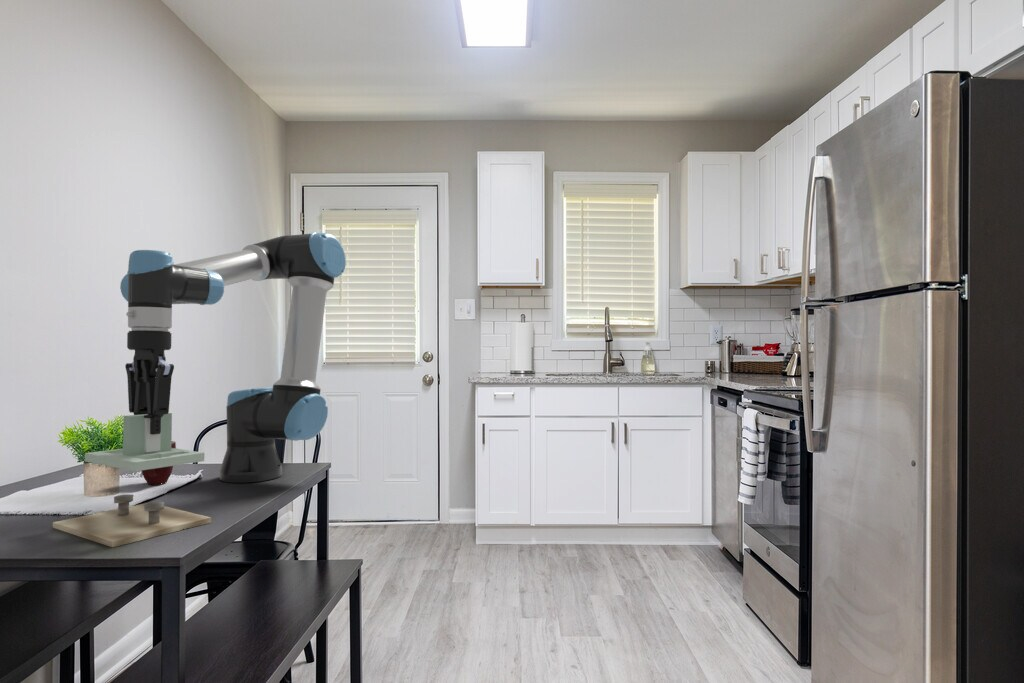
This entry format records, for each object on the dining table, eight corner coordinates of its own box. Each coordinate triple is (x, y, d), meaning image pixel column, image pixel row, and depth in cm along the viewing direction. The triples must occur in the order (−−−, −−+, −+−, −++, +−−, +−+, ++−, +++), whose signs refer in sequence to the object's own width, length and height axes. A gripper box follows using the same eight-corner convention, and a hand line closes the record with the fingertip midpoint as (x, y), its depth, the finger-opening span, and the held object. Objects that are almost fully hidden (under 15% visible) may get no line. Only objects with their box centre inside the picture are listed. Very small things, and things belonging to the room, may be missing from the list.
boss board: (149, 507, 135) (149, 485, 135) (211, 522, 124) (211, 498, 124) (52, 527, 120) (52, 503, 120) (112, 547, 108) (112, 520, 108)
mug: (173, 487, 154) (173, 446, 154) (134, 490, 151) (135, 448, 151) (176, 478, 164) (177, 440, 164) (140, 481, 161) (141, 442, 161)
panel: (152, 452, 134) (153, 409, 134) (204, 460, 124) (204, 414, 124) (84, 461, 123) (85, 414, 123) (135, 471, 113) (136, 420, 113)
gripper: (109, 329, 126) (107, 449, 125) (152, 328, 117) (150, 456, 117) (147, 331, 132) (146, 444, 131) (191, 330, 124) (189, 451, 123)
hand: (147, 450), depth 124 cm, fingers closed on panel, 2 cm apart
